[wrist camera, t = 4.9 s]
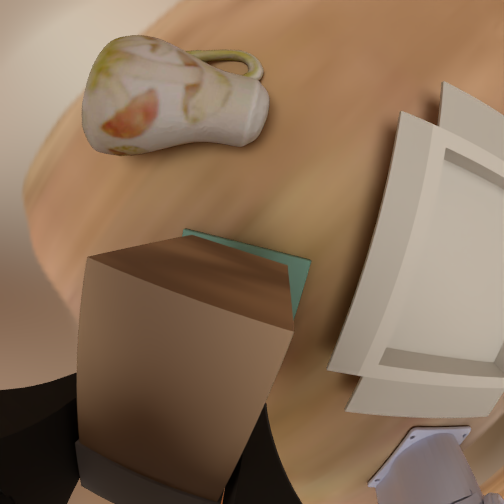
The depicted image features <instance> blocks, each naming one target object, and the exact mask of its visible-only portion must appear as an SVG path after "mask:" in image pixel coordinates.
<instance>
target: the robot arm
mask: <svg viewBox="0 0 504 504" xmlns="http://www.w3.org/2000/svg"><path fill="white" fill-rule="evenodd" d="M470 431H471V428H470V426H465V427H416V428H413V429H411V430H410V432H409V433H408V434H407V436H406V437H405V438H404V440H403V441H402V442H401V444H400V445H399V446H398V448H397V449H396V450H395V452H394V453H393V454H392V455H391V457H390V458H389V459H388V460H387V462H386V463H385V464H384V465H383V466H382V467H381V469H380V470H379V471H378V472H377V473H376V474H375V476H374V477H373V478H372V479H371V480H370V481H369V482H368V487H375V489H376V494H377V500H378V504H504V500H503V498H502V497H501V496H500V495H499V494H498V493H488V494H487V495H486V496H484V495H482V492H481V490H480V488H479V485H478V483H477V481H476V479H475V477H474V474H473V473H472V470H471V468H470V466H469V464H468V462H467V460H466V458H465V456H464V454H463V452H462V450H461V448H460V446H459V445H460V444H461V443H462V442H463V440H464V439H465V438H466V436H467V435H468V434H469V433H470ZM78 439H79V430H78V413H77V373H74V374H71V375H69V376H66V377H63V378H60V379H57V380H54V381H51V382H48V383H44V384H39V385H35V386H31V387H25V388H17V389H8V390H0V504H67V503H68V500H69V498H70V496H71V494H72V492H73V490H74V488H75V486H76V484H77V482H78V480H79V478H80V475H79V469H78V462H77V455H76V447H75V442H76V441H77V440H78ZM222 504H302V502H301V501H300V499H299V497H298V496H297V494H296V492H295V491H294V489H293V487H292V485H291V483H290V481H289V479H288V477H287V475H286V472H285V470H284V468H283V465H282V463H281V460H280V458H279V455H278V452H277V449H276V446H275V443H274V440H273V436H272V433H271V429H270V424H269V420H268V414H267V404H266V402H265V404H264V407H263V409H262V411H261V413H260V416H259V418H258V420H257V422H256V424H255V427H254V429H253V431H252V433H251V435H250V437H249V439H248V442H247V444H246V446H245V448H244V450H243V452H242V454H241V456H240V458H239V460H238V462H237V464H236V466H235V468H234V470H233V472H232V474H231V476H230V478H229V480H228V482H227V484H226V486H225V491H224V497H223V503H222Z"/></svg>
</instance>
